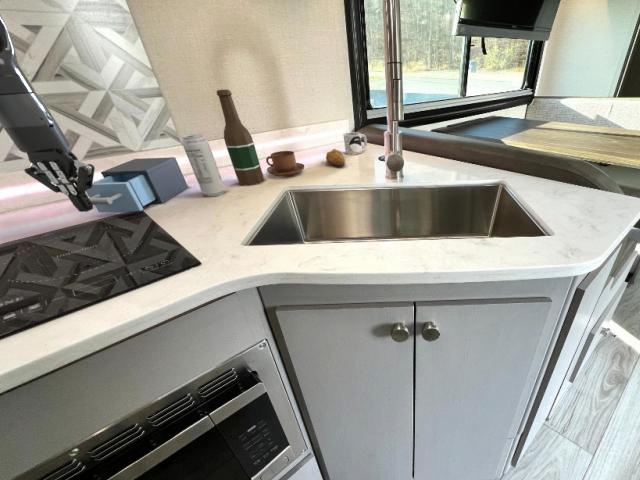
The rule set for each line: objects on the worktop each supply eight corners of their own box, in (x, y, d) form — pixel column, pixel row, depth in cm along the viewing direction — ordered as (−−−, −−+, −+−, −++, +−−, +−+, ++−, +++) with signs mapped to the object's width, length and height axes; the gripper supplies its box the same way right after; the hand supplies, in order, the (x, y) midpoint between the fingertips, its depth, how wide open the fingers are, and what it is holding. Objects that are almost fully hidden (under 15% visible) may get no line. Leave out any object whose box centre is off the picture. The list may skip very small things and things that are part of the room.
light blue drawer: (127, 219, 74) (110, 190, 70) (83, 220, 74) (64, 192, 70) (168, 194, 88) (156, 168, 84) (132, 195, 88) (118, 170, 84)
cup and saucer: (265, 180, 99) (260, 159, 95) (270, 170, 108) (265, 150, 105) (304, 177, 101) (300, 156, 97) (306, 167, 110) (302, 148, 106)
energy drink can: (231, 191, 91) (210, 133, 82) (214, 198, 87) (190, 138, 78) (215, 189, 93) (194, 132, 84) (198, 195, 89) (173, 137, 80)
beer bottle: (241, 179, 101) (211, 89, 86) (266, 177, 102) (241, 88, 87) (235, 186, 95) (202, 91, 80) (262, 184, 96) (234, 90, 81)
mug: (351, 155, 122) (349, 136, 118) (342, 152, 126) (340, 134, 122) (372, 150, 127) (370, 132, 123) (362, 148, 131) (361, 130, 127)
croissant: (321, 161, 116) (318, 146, 113) (338, 158, 118) (336, 144, 115) (333, 169, 106) (331, 153, 103) (352, 166, 109) (350, 151, 106)
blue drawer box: (162, 203, 85) (145, 170, 80) (119, 205, 85) (100, 172, 80) (188, 187, 96) (175, 157, 90) (150, 188, 96) (135, 158, 90)
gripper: (-27, 126, 57) (42, 218, 67) (46, 124, 57) (104, 216, 67) (13, 120, 63) (71, 205, 73) (79, 118, 62) (127, 203, 73)
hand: (87, 210), depth 70 cm, fingers closed
